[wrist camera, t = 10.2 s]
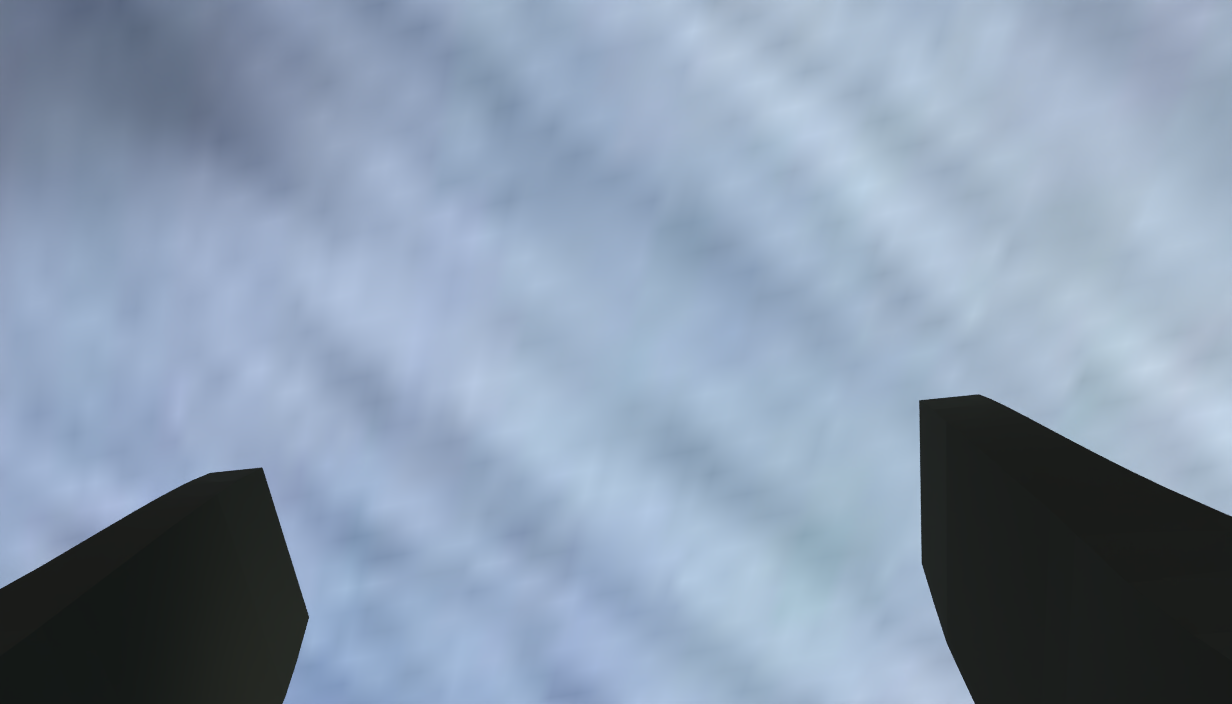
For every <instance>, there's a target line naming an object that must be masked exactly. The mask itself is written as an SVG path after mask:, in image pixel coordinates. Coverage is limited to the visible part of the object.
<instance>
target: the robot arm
mask: <svg viewBox="0 0 1232 704" xmlns="http://www.w3.org/2000/svg"><path fill="white" fill-rule="evenodd" d="M919 409H920V477H921V544H922V565H923V569H924V572H925V575H926V579H927V582H928V585H929V588H930V592H931V595H932V598H933V602H934V605H935V608H936V611H937V614H938V617H939V620H940V623H941V626H942V630H943V633H944V636H945V639H946V642H947V644H948V647H949V649H950V651H951V653H952V655H953V658H954V660H955V662H956V664H957V666H958V668H959V671H960V673H961V675H962V677H963V679H964V681H965V683H966V686H967V688H968V690H969V692H970V694H971V696H972V698H973V701H974V703H975V704H1232V516H1229V515H1227V514H1224V513H1222V512H1220V511H1217V510H1215V509H1213V508H1211V507H1208V506H1206V505H1204V504H1202V503H1199V502H1197V501H1195V500H1193V499H1190V498H1188V497H1186V496H1184V495H1181V494H1179V493H1177V492H1174V491H1172V490H1170V489H1168V488H1165V487H1163V486H1161V485H1159V484H1157V483H1155V482H1153V481H1151V480H1149V479H1146V478H1144V477H1142V476H1140V475H1138V474H1136V473H1134V472H1132V471H1130V470H1128V469H1126V468H1124V467H1122V466H1120V465H1118V464H1116V463H1114V462H1112V461H1110V460H1108V459H1106V458H1104V457H1102V456H1100V455H1098V454H1096V453H1094V452H1092V451H1090V450H1088V449H1086V448H1084V447H1082V446H1081V445H1079V444H1077V443H1075V442H1073V441H1071V440H1069V439H1067V438H1065V437H1063V436H1062V435H1060V434H1058V433H1056V432H1054V431H1052V430H1050V429H1048V428H1046V427H1045V426H1043V425H1041V424H1039V423H1037V422H1035V421H1033V420H1031V419H1030V418H1028V417H1026V416H1024V415H1022V414H1020V413H1018V412H1016V411H1014V410H1012V409H1010V408H1008V407H1006V406H1004V405H1002V404H1000V403H998V402H996V401H994V400H992V399H989V398H987V397H984V396H982V395H979V394H978V395H968V396H958V397H948V398H938V399H929V400H919ZM308 619H309V616H308V612H307V609H306V606H305V603H304V599H303V596H302V593H301V590H300V587H299V583H298V580H297V577H296V574H295V571H294V567H293V564H292V561H291V558H290V555H289V551H288V548H287V545H286V542H285V539H284V535H283V532H282V529H281V526H280V522H279V519H278V516H277V513H276V510H275V506H274V503H273V500H272V497H271V494H270V490H269V487H268V484H267V481H266V478H265V474H264V471H263V468H253V469H243V470H234V471H224V472H214V473H209V474H207V475H204V476H202V477H199V478H197V479H194V480H192V481H190V482H188V483H186V484H184V485H182V486H180V487H178V488H176V489H174V490H172V491H170V492H168V493H166V494H165V495H163V496H161V497H159V498H157V499H155V500H154V501H152V502H150V503H148V504H147V505H145V506H143V507H141V508H140V509H138V510H136V511H134V512H133V513H131V514H129V515H127V516H126V517H124V518H122V519H121V520H119V521H117V522H115V523H114V524H112V525H110V526H109V527H107V528H105V529H104V530H102V531H100V532H98V533H97V534H95V535H93V536H92V537H90V538H88V539H87V540H85V541H83V542H81V543H80V544H78V545H76V546H75V547H73V548H71V549H70V550H68V551H66V552H65V553H63V554H61V555H59V556H58V557H56V558H54V559H53V560H51V561H49V562H48V563H46V564H44V565H42V566H41V567H39V568H37V569H35V570H34V571H32V572H30V573H28V574H26V575H25V576H23V577H21V578H19V579H17V580H16V581H14V582H12V583H10V584H8V585H7V586H5V587H3V588H1V589H0V704H282V703H283V701H284V699H285V696H286V693H287V690H288V687H289V684H290V681H291V678H292V674H293V671H294V668H295V665H296V662H297V659H298V655H299V651H300V648H301V644H302V641H303V637H304V633H305V630H306V626H307V623H308Z"/></svg>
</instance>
